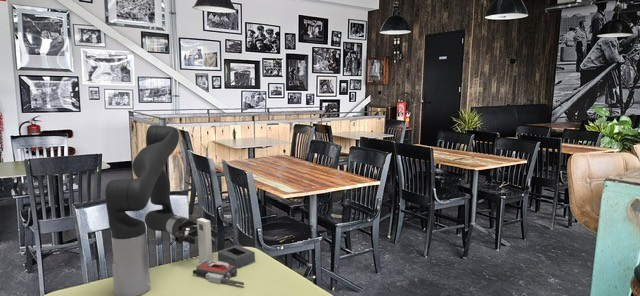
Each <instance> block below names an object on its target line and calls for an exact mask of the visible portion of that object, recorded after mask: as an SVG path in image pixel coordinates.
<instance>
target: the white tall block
mask: <svg viewBox="0 0 640 296" xmlns="http://www.w3.org/2000/svg"><path fill="white" fill-rule="evenodd" d="M196 225H197V229H198V237H197V242H198V243H197V245H198V259H199V263H200V264H202V263H203V262H205V261H212V262H213V246H212V245H213V243H212V236H211V225H212V223H211V220H209V219H206V218H203V217H201V218H197V219H196Z"/></svg>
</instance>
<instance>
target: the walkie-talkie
mask: <svg viewBox="0 0 640 296" xmlns="http://www.w3.org/2000/svg"><path fill="white" fill-rule="evenodd" d="M192 274H194V275H196V277H200V278H205V279H207V281H208V282H210V283H214V284H217V285H221V284H222V283H224V284H226V283H228V284H230V285H231V284H232V285H242V286H244V285H245V282H243V281H238V280H233V279H230V278H232V277H235V276H237V274H238V269H236V266H232V265H230V264H229V263H226V262H221V261H218V260H217V261H216V262H214V261H213V260H212V261H205V262H203V263H200V264H198V265H197V266H196V268H195V269H194V270H192Z"/></svg>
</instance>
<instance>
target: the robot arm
mask: <svg viewBox="0 0 640 296" xmlns="http://www.w3.org/2000/svg"><path fill="white" fill-rule="evenodd" d="M179 140H180V133H179V130H178V129H177V128H176V127H175V126H171V125H156V124H155V125H154V124H152V125H149V126H148V127H147V129H146V133H145V144H146V145H145V147H143V148H141V150H139V152H138V153H137V155H136V156H135V158H134V159H133V161H132V164H131V167H132V172H133V173H134V175H135V177H136V178H119V179H118V178H117V179H111V180H109V181H108V183H107V185H106V186H105V190H104V191H105V193H104V195H105V198H104V199H105V206H106V211H107V219H108V226H109V227H108V228H109V230H110V236H111V249H112V257H113V259H112V260H113V262H112V265H111V267H112V268H111V269H112V279H113V280H112V281H113V290H114V291H113V292H114V293H113V294H114V296H140V295H143V294H145V293H147V292H148V291H149V290H150V289H151V280H150V277H151V276H150V266H149V251H148V239H147V238H148V237H147V228H149V229H150V230H152V231H154V232H155V231H157V232H166V233H167V234H170V235H171V240H172V241H174V242H175V243H176V244H178V245H179V244H180V245H181V244H183V243H186V244H187V243H188V244H190V245H195V244H196V238H198V229H197V222H195V221H194V220H193V219H190V218H188V217H185V216H181V215H178V214H175V213H174V210H173V207H172V202H171V183H170V179H169V176H168V174H167V173H166V171H165V169H164V167H165V166H166V163H167V161H168V159H169V158H170V156H171V155H172V154H173V153H174V151H175V150H176V148H177V147H178V144H179V142H180V141H179ZM149 201H150V203H151V204H153V205H154V206H161V208H160V209H154V210H150V211H148V212H147V213H146V214H145V217H144V221H143V220H141V219H138V218H135V217H133V216H130V215H129V214H128V213H127V212H139V211H143V210H144V209H145V208H146V207H147V205H148V203H149ZM218 237H219V232H218V230H217V226H216V225H214V224H211V238H215V239H216V238H218Z"/></svg>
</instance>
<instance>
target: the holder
mask: <svg viewBox="0 0 640 296" xmlns="http://www.w3.org/2000/svg"><path fill="white" fill-rule="evenodd" d="M255 254H256V252H255V251H253V250H251V249H248V248H246V247H243V246H241V245H238V244H236V245H233V246H230V247H227V248H223V249H221V250H218V251H217V262H218V261H221V262H226V263H229V264H230V265H232V266H236V269H237V270H238V269H240V268H243V267H245V266H248V265H251V264H253V262H254V263H256V255H255ZM250 263H251V264H250Z"/></svg>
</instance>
